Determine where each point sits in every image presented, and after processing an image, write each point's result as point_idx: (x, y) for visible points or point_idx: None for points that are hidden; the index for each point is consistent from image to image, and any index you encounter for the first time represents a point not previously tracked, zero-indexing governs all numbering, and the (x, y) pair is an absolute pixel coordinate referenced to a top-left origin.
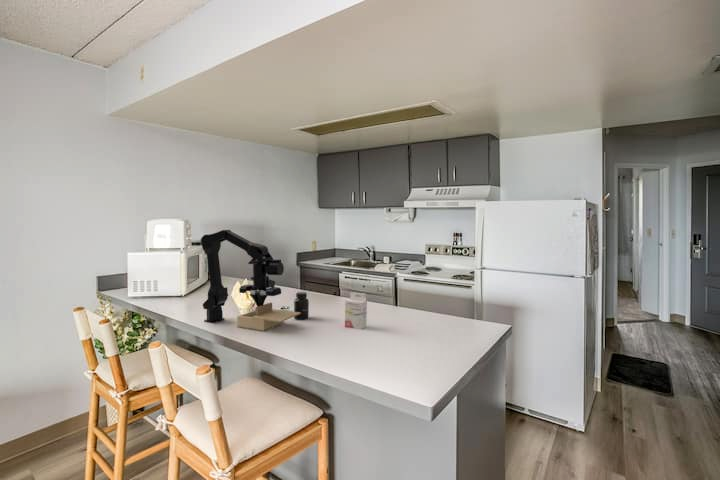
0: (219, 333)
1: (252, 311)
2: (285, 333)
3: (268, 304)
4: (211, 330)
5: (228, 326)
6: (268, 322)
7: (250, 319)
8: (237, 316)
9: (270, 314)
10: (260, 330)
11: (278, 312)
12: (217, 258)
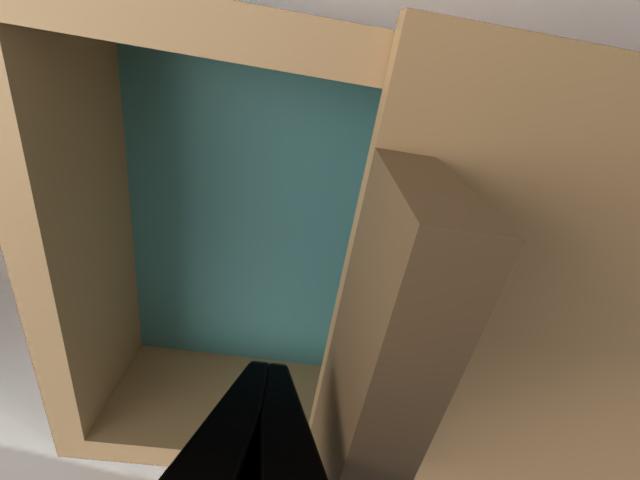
0: (120, 467)
1: (33, 228)
2: None
3: (444, 395)
4: (3, 438)
5: (22, 342)
6: None
7: None
8: (63, 451)
9: (492, 388)
10: None
11: (610, 267)
12: None
